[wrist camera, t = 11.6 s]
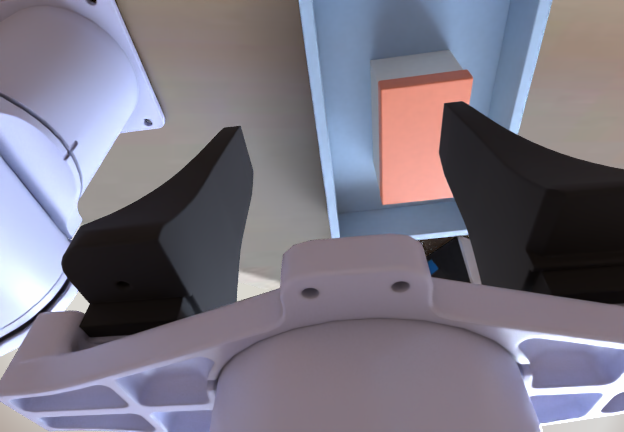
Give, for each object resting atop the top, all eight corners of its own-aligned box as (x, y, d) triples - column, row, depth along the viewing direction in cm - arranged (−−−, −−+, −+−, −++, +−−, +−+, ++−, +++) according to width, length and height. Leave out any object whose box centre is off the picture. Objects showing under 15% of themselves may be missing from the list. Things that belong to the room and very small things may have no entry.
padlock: (437, 290, 38) (490, 469, 28) (403, 277, 37) (445, 461, 26) (490, 249, 35) (578, 440, 24) (455, 233, 33) (530, 428, 22)
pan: (330, 215, 31) (332, 248, 29) (296, -38, 20) (295, -19, 17) (476, 199, 31) (492, 232, 28) (532, -74, 19) (568, -61, 16)
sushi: (373, 164, 27) (381, 205, 24) (369, 54, 22) (380, 89, 19) (438, 157, 27) (455, 198, 24) (450, 43, 22) (474, 77, 19)
